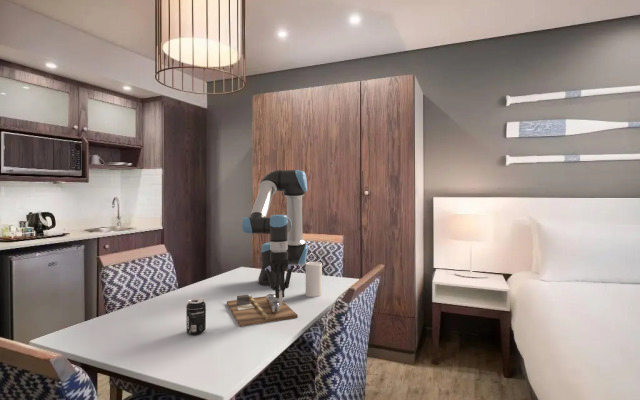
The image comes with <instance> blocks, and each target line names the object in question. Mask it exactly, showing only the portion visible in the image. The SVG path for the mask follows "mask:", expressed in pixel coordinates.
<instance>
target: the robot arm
mask: <svg viewBox="0 0 640 400" xmlns="http://www.w3.org/2000/svg"><path fill="white" fill-rule="evenodd" d="M258 190H259V191H258V192H257V197H256V199H255V201H254V204H253V207H252V209H251V212H250V215H249V216H245V217H243V218H242V220H241V230H242V232H243V233H244V234H251V235H252V234H253V235H257V234H265V235H266V234H267V235H269V241H270V242H265V243H263V244H262V245H261V250H260V255H261V257H260V258H261V259H260V261H261V262H260V263H261V269H260V272H259V275H258V279H257V280H258V281H257V283H258V285H261V286H270V289H271V290H273V291H274V294H275V297H276V298H277V301H278V302H279V305H280V306H282V301H283V298H285V290H286V289H289V286H290V283H291V282H290V281H291V278H292V273H293V271H294V268H295V266H300V265H301V266H302V265H306V263H307V257H308V250H309V244H307V243H306V240H305V239H304V237H303V235H304V234H303V197H304V196H305V193H306V192H308V180H307V175H306V171H304V170H299V169H283V170H281V169H277V170H272V171H271V172H269V173H267V174H266V175H265V176H264V177H263V178H262V179H261V180H260V182H259V185H258ZM277 192H283V196H284V197H285V198H286V214H271V215H270V217H269V216H268V213H269V210H270V206H271V203H272V200H273V196H274V195H275V194H276V193H277ZM285 271H286V272H285ZM285 274H286V275H285Z"/></svg>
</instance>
